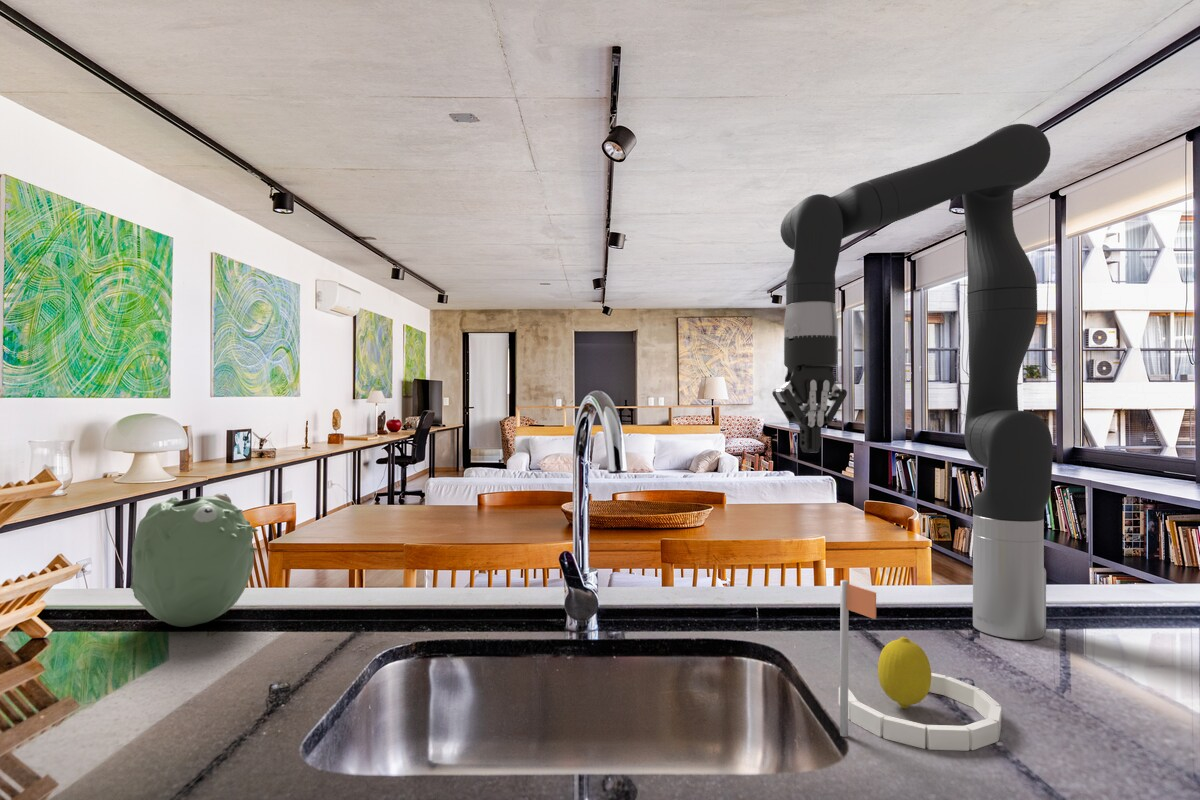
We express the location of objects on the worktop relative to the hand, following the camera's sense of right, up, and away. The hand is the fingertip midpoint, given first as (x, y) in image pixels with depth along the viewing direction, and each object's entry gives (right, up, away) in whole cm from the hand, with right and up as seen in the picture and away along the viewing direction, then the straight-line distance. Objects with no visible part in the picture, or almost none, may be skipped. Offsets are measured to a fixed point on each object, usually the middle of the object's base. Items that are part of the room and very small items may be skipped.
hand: (810, 452), depth 103 cm
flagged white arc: (+3, -27, -28) cm, 39 cm away
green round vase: (-94, -27, +4) cm, 98 cm away
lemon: (+3, -27, -24) cm, 37 cm away
